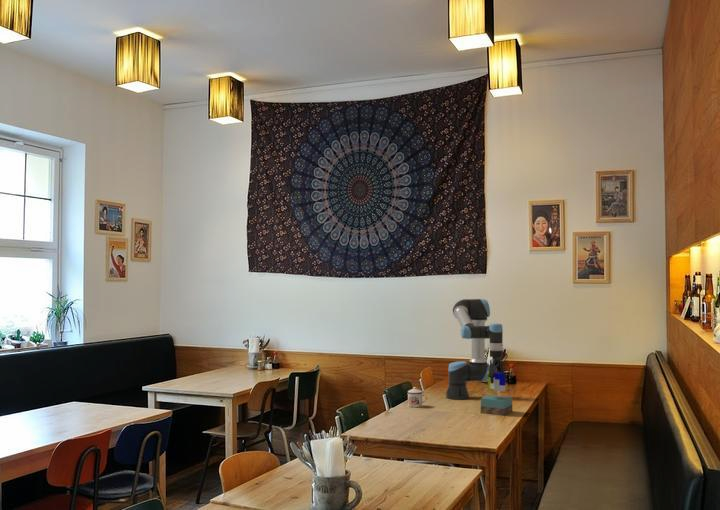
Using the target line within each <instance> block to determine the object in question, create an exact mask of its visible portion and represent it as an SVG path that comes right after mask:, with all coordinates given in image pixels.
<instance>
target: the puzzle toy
mask: <svg viewBox="0 0 720 510" xmlns="http://www.w3.org/2000/svg"><path fill="white" fill-rule="evenodd" d="M488 375H489V371H488V373H487V377H488ZM494 377H495V389H490V377H488V380H487V392H506V371H504V372H501V371H497V370H496V372H495V376H494Z"/></svg>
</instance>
